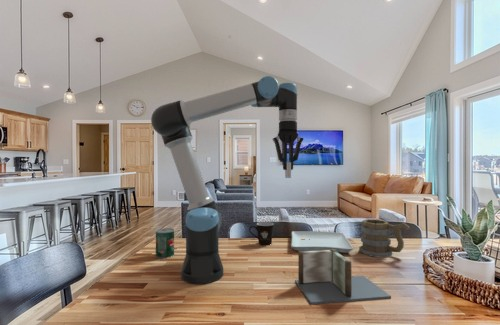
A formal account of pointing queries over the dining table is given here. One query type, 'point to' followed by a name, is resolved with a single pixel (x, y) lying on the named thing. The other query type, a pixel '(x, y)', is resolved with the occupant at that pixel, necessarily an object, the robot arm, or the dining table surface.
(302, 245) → the square plate
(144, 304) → the dining table surface
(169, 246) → the canned tomato
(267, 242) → the coffee mug
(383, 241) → the tankard
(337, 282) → the folding panel
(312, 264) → the panel
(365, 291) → the card
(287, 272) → the dining table surface
